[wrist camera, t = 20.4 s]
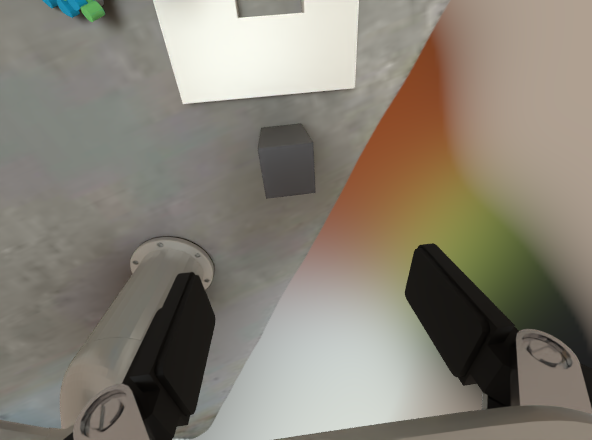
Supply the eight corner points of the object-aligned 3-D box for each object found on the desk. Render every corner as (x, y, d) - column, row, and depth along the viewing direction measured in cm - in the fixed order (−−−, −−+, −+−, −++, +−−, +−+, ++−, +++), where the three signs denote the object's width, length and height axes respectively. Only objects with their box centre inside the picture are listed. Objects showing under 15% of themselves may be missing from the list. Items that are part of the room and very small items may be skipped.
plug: (303, 162, 33) (315, 192, 24) (267, 166, 33) (266, 198, 24) (300, 123, 30) (313, 142, 22) (261, 127, 30) (257, 148, 21)
